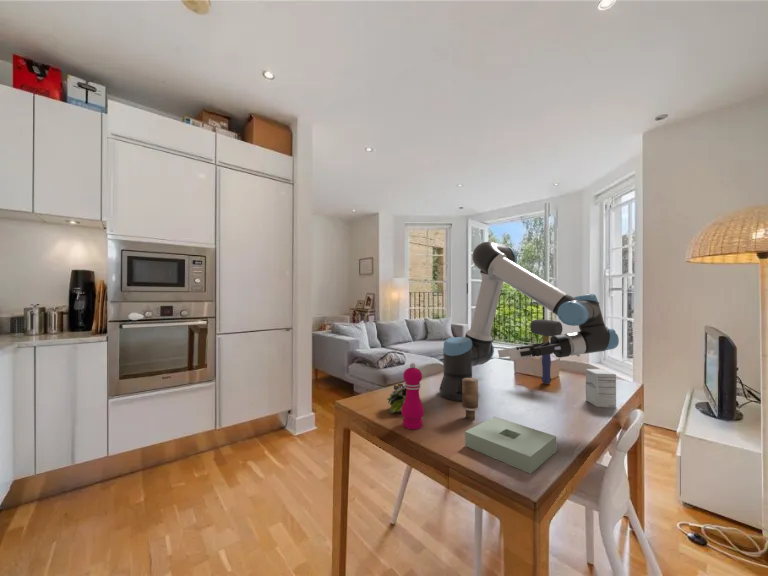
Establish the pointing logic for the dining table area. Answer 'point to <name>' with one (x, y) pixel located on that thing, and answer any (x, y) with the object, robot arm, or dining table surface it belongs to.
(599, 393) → the supplement box
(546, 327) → the rubber mallet
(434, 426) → the dining table surface
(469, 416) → the walnut peg
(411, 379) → the pepper mill
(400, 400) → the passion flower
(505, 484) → the dining table surface
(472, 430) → the sage board
